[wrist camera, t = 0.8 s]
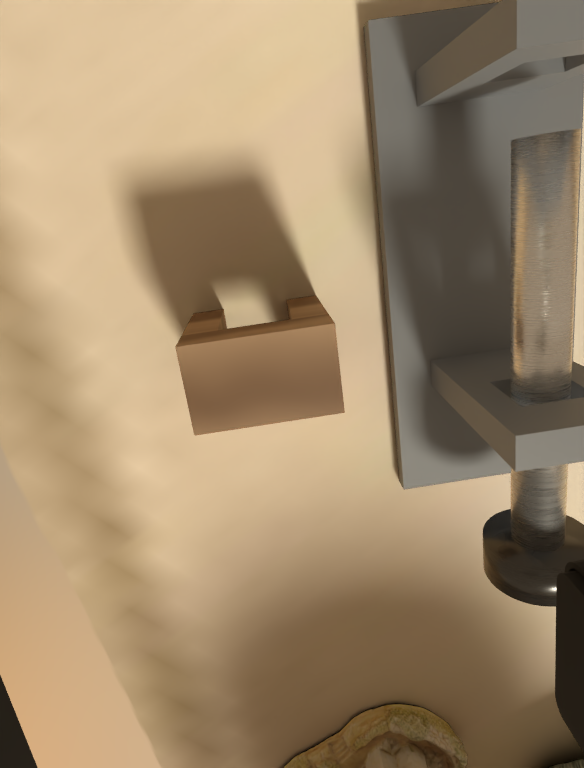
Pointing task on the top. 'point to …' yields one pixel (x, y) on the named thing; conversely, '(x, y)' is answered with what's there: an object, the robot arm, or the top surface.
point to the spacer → (260, 369)
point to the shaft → (539, 363)
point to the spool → (571, 764)
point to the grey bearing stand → (466, 226)
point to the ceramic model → (388, 742)
